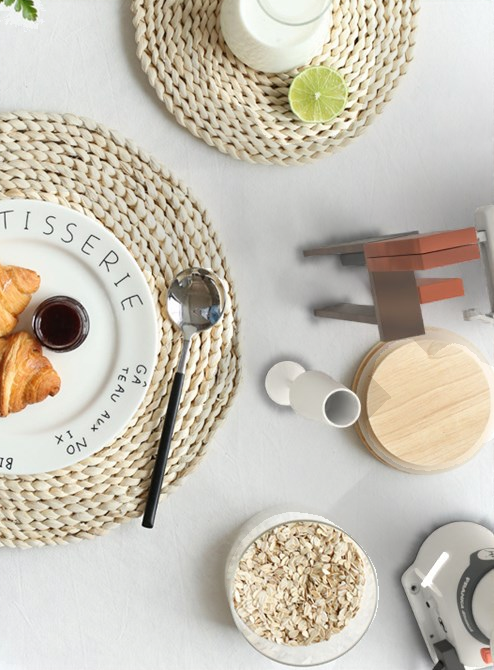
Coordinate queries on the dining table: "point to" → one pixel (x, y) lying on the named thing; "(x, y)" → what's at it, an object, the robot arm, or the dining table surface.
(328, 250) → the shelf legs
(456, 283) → the terracotta book
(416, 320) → the shelf
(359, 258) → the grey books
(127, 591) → the dining table surface
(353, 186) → the dining table surface
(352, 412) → the champagne flute
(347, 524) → the dining table surface
